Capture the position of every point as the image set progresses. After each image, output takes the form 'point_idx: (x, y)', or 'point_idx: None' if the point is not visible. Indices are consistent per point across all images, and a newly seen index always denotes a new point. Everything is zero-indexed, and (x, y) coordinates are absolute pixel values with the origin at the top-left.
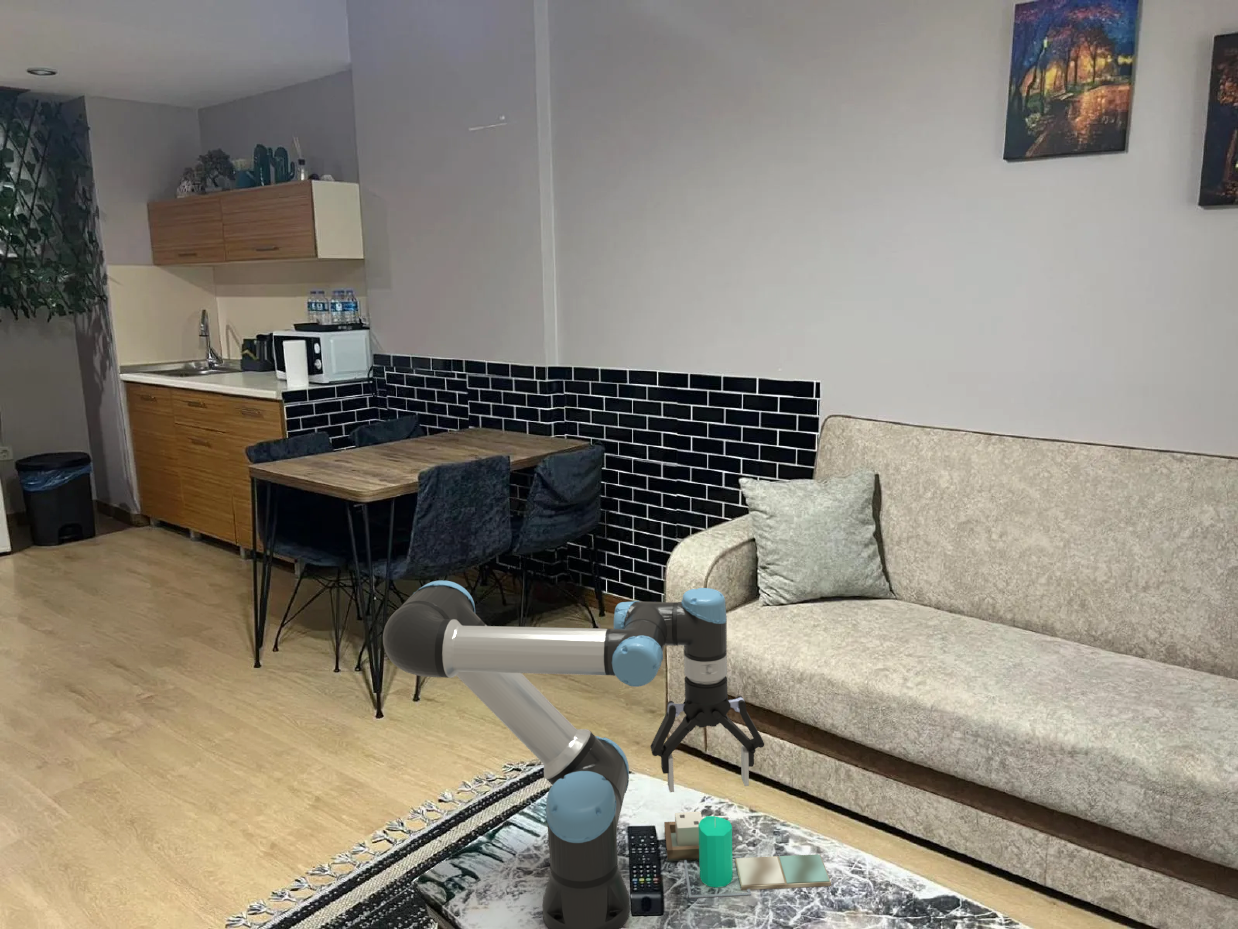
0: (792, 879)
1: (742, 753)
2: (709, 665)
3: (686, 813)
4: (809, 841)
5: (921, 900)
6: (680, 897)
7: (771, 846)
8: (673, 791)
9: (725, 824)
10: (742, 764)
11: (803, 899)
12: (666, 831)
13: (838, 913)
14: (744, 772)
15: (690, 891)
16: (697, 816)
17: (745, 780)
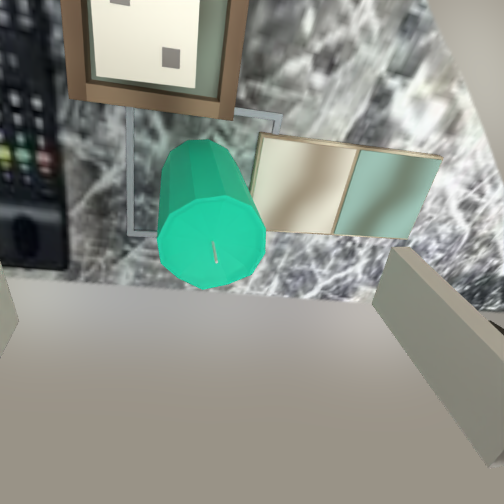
0: (348, 227)
1: (490, 397)
2: None
3: None
4: (456, 87)
5: (498, 279)
6: (108, 228)
7: (367, 86)
8: (14, 323)
9: (250, 230)
10: (437, 333)
11: (341, 260)
12: None
13: (374, 292)
14: (408, 353)
15: (132, 220)
16: (182, 12)
17: (389, 322)
